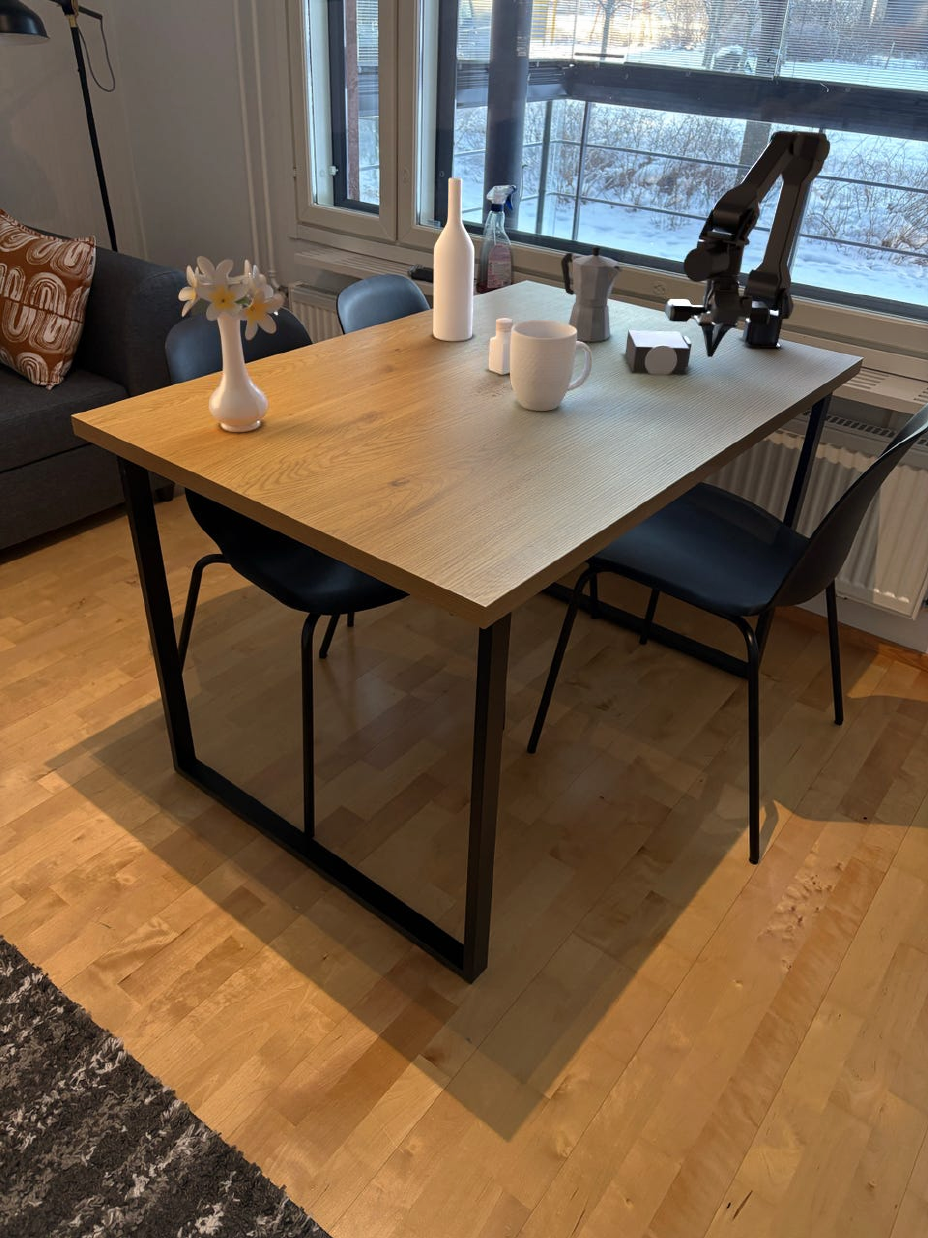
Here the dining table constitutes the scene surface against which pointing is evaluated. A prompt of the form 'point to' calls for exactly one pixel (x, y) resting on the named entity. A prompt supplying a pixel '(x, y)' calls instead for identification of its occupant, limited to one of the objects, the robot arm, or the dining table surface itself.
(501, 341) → the pepper shaker
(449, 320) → the bottle
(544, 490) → the dining table surface
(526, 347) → the mug
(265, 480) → the dining table surface
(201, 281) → the flower vase
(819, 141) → the robot arm
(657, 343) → the tape case
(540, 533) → the dining table surface
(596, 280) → the coffeepot
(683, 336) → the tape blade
